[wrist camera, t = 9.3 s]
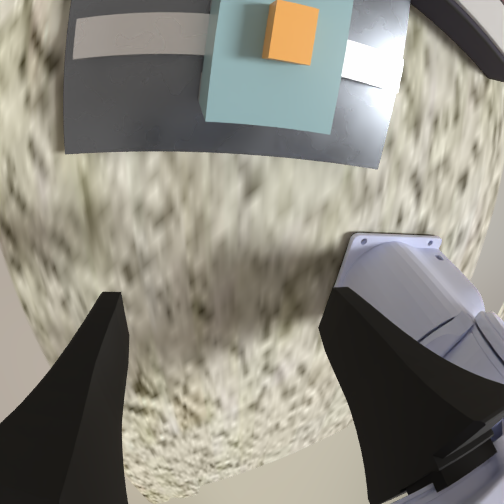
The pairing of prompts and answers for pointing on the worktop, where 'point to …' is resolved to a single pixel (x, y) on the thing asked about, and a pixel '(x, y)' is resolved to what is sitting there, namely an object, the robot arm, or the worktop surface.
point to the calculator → (472, 29)
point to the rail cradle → (188, 81)
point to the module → (274, 62)
